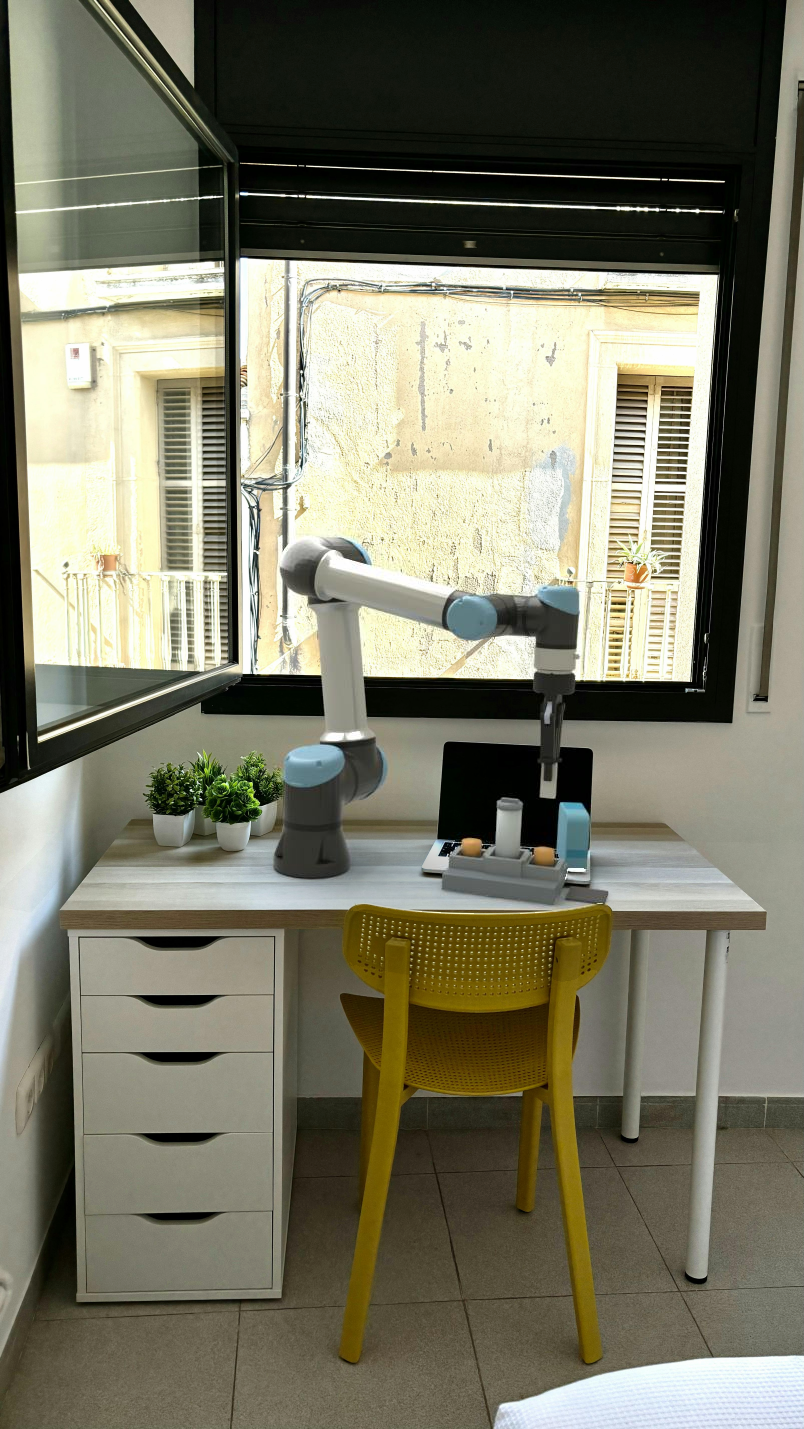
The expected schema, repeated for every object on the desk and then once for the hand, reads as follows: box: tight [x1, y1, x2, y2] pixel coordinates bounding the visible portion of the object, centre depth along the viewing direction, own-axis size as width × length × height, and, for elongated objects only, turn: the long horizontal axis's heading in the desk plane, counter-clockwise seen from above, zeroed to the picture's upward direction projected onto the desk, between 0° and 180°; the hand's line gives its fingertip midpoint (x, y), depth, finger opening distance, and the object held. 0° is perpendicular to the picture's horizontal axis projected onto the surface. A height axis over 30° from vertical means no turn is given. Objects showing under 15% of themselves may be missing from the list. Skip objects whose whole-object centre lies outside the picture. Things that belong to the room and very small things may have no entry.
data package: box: [556, 802, 591, 869], centre depth 200 cm, size 12×4×12 cm, turn 178°
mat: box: [564, 885, 609, 905], centre depth 182 cm, size 7×7×1 cm
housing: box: [441, 845, 568, 906], centre depth 187 cm, size 21×16×6 cm
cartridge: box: [494, 797, 524, 860], centre depth 186 cm, size 5×5×14 cm
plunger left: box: [461, 837, 483, 857], centre depth 189 cm, size 4×4×2 cm
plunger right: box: [533, 846, 555, 866], centre depth 185 cm, size 4×4×2 cm
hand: (547, 797), depth 183 cm, fingers closed
